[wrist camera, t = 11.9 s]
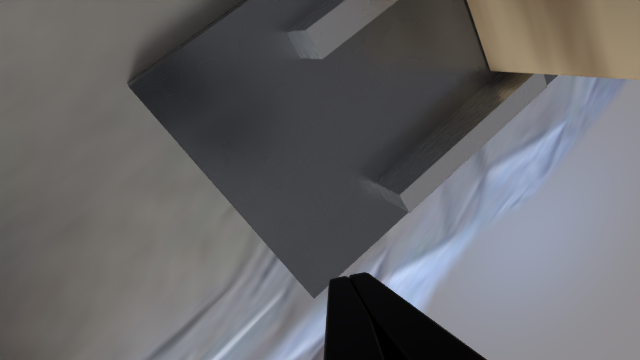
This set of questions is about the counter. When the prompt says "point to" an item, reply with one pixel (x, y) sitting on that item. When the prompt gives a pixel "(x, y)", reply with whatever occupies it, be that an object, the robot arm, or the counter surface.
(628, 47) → the oak block
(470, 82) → the chute
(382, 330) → the robot arm
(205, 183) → the counter surface
